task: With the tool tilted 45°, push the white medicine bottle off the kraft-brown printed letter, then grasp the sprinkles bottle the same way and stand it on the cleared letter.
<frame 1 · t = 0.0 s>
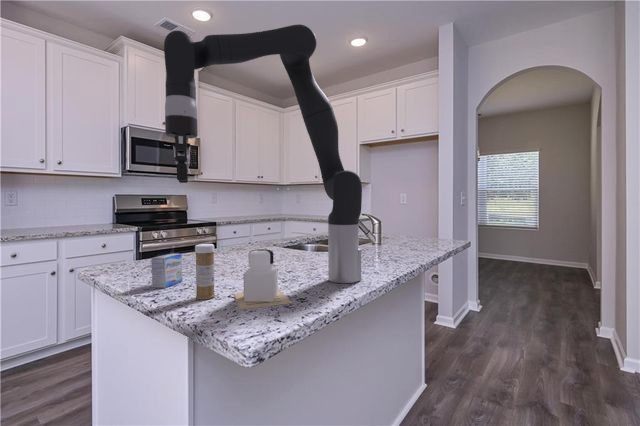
hand: (182, 181, 83), 29 cm above the countertop, tool pointing down, fingers open, 8 cm apart
medicine box: (167, 285, 96), on the countertop
letter: (261, 298, 81), on the countertop
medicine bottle: (261, 298, 81), resting on letter
sprinkles bottle: (205, 298, 82), on the countertop
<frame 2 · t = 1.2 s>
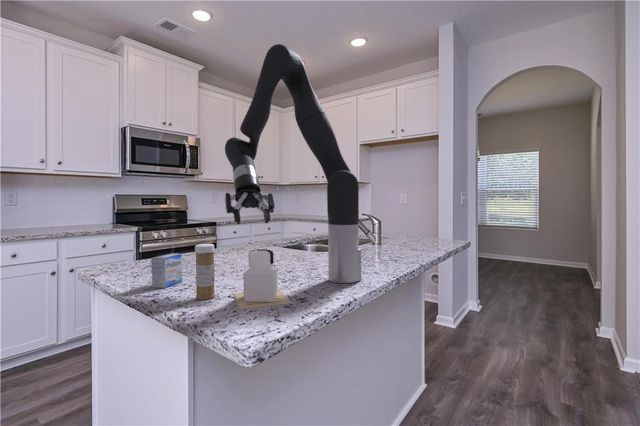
hand: (253, 221, 91), 19 cm above the countertop, tool tilted 45°, fingers open, 7 cm apart
nothing on the countertop moved.
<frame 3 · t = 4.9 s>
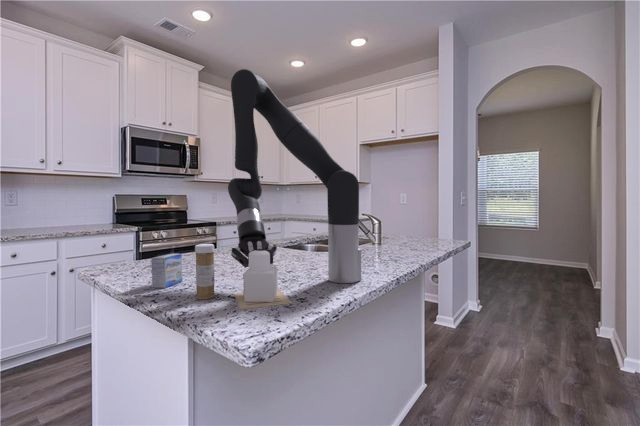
hand: (258, 278, 85), 4 cm above the countertop, tool tilted 45°, fingers closed
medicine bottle: (261, 298, 81), resting on letter, touching gripper
everything else where it was.
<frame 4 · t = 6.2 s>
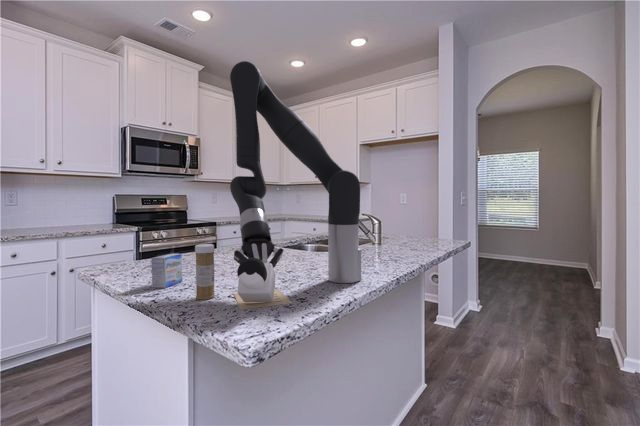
hand: (263, 283, 78), 5 cm above the countertop, tool tilted 45°, fingers closed
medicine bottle: (260, 288, 80), point 3 cm above the countertop, touching letter
everything else where it was.
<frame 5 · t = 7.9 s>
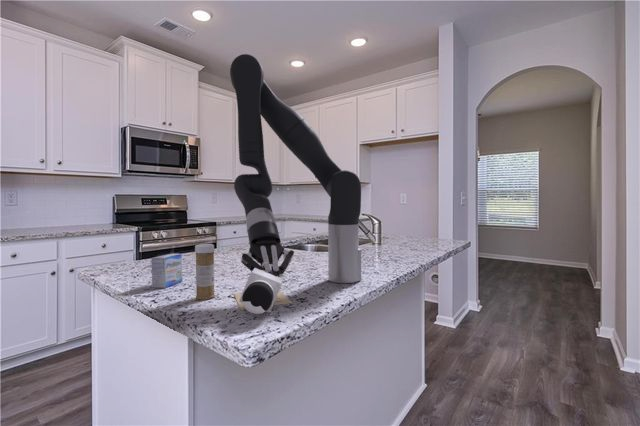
hand: (274, 288, 72), 5 cm above the countertop, tool tilted 45°, fingers closed
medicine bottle: (265, 282, 78), point 5 cm above the countertop, touching gripper, hand
everything else where it was.
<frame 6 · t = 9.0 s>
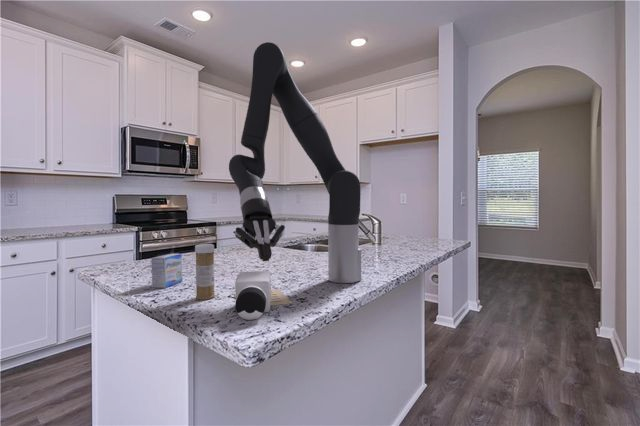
hand: (266, 259, 77), 11 cm above the countertop, tool tilted 45°, fingers closed
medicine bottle: (255, 285, 77), point 4 cm above the countertop
everything else where it was.
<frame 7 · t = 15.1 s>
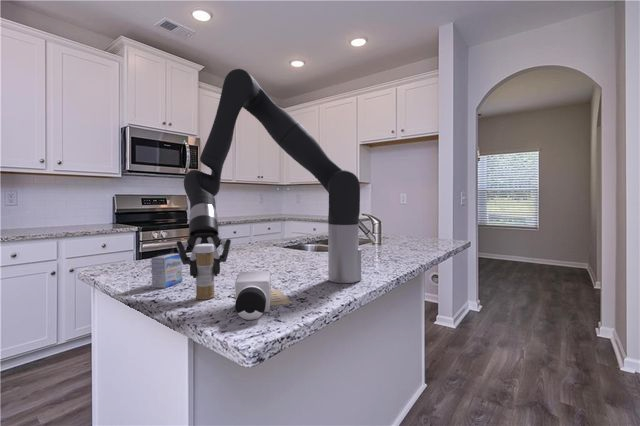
hand: (205, 275, 80), 6 cm above the countertop, tool tilted 45°, fingers closed on sprinkles bottle, 4 cm apart
sprinkles bottle: (205, 298, 82), on the countertop, touching gripper
everything else where it was.
when the fingers open (7 cm above the countertop, at t = 19.7 s): sprinkles bottle drops 1 cm, resting on letter.
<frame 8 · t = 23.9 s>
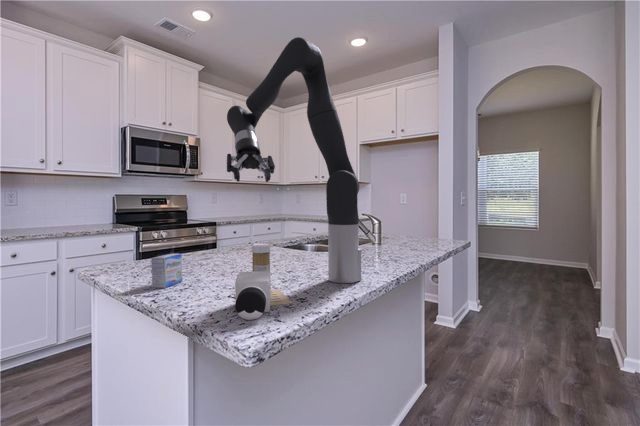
hand: (253, 179, 96), 31 cm above the countertop, tool tilted 45°, fingers open, 8 cm apart
sprinkles bottle: (261, 298, 82), resting on letter
everything else where it was.
at the end: sprinkles bottle inside the target area on the letter (0.2 cm from its centre), point 0.0 cm above the letter's base; sprinkles bottle tilted 0°; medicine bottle touching countertop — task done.
